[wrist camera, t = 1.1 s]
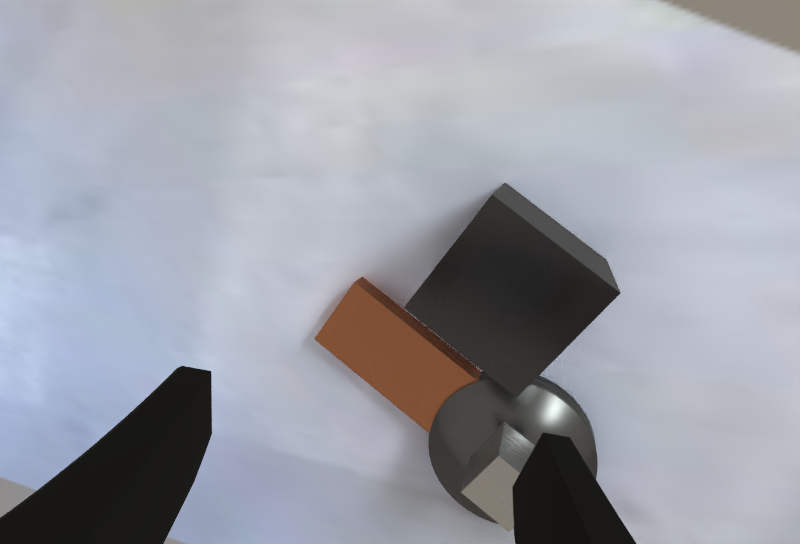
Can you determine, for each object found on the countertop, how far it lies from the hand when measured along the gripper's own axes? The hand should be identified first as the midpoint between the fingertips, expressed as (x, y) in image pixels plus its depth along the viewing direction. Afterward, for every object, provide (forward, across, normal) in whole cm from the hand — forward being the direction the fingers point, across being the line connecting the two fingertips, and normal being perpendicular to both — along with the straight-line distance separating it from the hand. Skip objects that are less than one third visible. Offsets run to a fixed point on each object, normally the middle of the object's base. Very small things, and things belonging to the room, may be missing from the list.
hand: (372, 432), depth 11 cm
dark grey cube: (+10, -5, +1) cm, 12 cm away
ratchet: (+9, -4, +8) cm, 13 cm away
